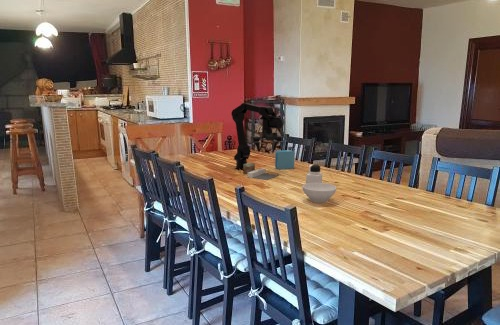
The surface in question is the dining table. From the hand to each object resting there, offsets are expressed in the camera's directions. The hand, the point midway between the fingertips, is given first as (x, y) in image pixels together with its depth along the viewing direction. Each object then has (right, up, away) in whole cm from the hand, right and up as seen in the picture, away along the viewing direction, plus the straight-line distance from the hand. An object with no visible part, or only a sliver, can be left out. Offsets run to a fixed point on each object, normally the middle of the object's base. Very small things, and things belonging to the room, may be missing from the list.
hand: (266, 152), depth 238 cm
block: (-10, -13, +3) cm, 17 cm away
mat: (0, -15, -7) cm, 16 cm away
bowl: (+23, -25, -57) cm, 66 cm away
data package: (+13, -11, +17) cm, 24 cm away
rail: (-6, -14, -4) cm, 16 cm away
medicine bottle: (+25, -20, -30) cm, 44 cm away
